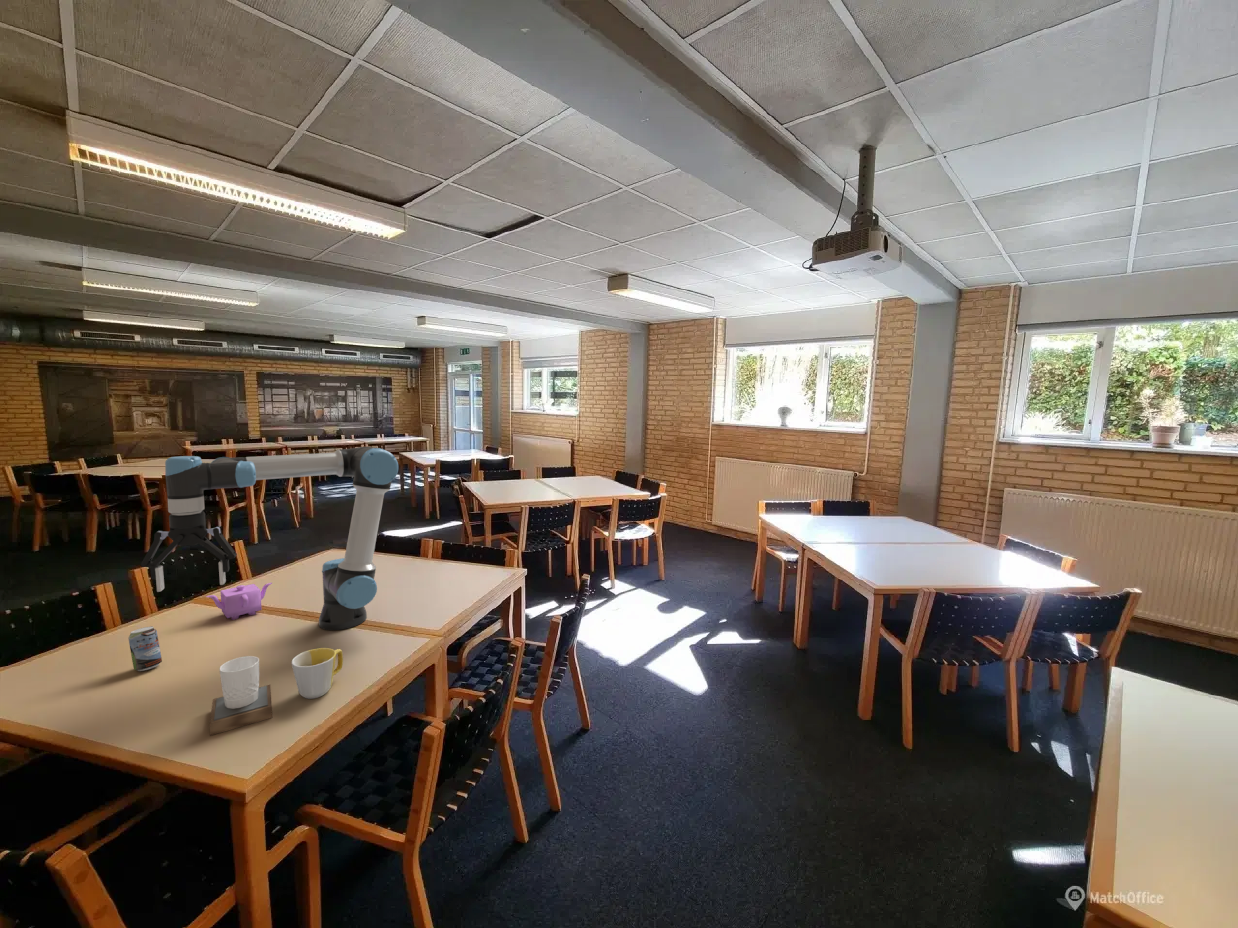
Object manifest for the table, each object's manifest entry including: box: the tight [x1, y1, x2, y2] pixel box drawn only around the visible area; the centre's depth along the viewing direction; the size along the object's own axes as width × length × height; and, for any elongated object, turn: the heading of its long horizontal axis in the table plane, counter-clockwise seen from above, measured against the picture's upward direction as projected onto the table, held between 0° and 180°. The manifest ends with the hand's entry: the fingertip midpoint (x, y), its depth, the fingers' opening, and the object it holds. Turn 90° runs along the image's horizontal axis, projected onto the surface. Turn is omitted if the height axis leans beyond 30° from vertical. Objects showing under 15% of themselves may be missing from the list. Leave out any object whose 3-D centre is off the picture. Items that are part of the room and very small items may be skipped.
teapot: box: [205, 582, 273, 621], centre depth 182 cm, size 15×13×11 cm
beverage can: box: [128, 625, 163, 672], centre depth 144 cm, size 6×7×12 cm
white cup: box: [219, 655, 260, 709], centre depth 123 cm, size 8×8×10 cm
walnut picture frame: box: [209, 684, 273, 736], centre depth 124 cm, size 12×12×3 cm
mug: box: [291, 647, 344, 700], centre depth 135 cm, size 14×10×10 cm
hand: (192, 586), depth 138 cm, fingers open, 13 cm apart
